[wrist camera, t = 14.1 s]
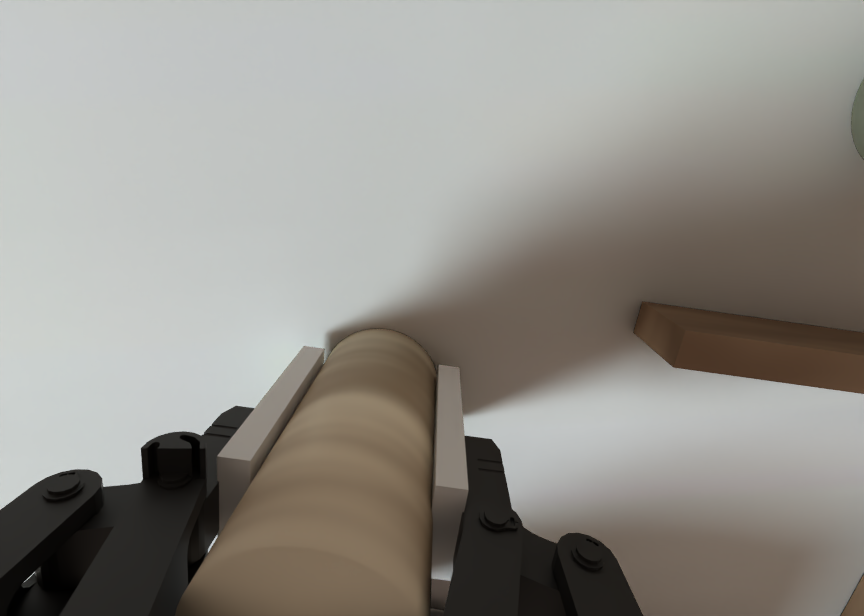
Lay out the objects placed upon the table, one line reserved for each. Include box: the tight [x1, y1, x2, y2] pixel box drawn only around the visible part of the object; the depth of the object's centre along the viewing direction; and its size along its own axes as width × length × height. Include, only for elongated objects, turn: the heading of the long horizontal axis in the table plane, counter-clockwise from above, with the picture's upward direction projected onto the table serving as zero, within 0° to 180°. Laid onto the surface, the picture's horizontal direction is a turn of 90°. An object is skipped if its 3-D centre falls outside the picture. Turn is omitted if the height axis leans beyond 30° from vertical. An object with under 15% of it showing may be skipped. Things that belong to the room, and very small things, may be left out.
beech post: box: [175, 329, 437, 616], centre depth 12 cm, size 4×4×10 cm
